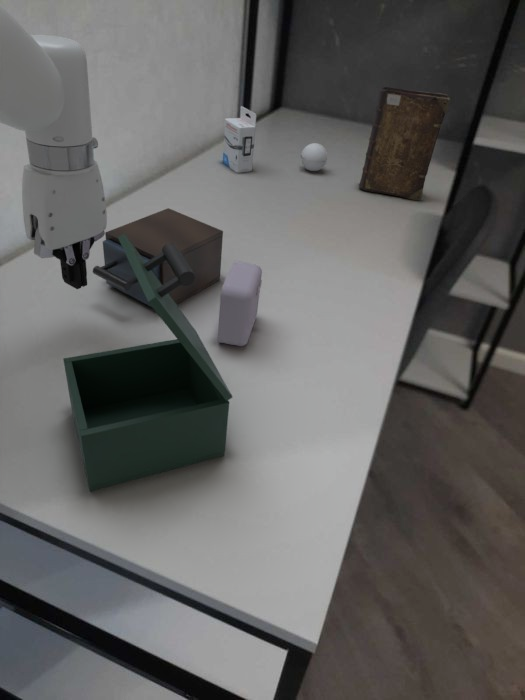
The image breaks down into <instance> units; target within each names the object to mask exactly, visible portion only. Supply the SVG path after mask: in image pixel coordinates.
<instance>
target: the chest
mask: <svg viewBox="0 0 525 700" xmlns="http://www.w3.org/2000/svg"><path fill="white" fill-rule="evenodd" d="M63 366H64V372H65V378H66V383H67V389H68V395H69V401H70V407H71V413H72V417H73V423H74V427H75V431H76V436H77V440H78V446H79V449H80V450H79V451H80V454H81V458H82V464H83V468H84V472H85V477H86V481H87V486H88V490H89V491H88V492H93V491H96V490H101V489H104V488H109V487H111V486H117V485H119V484H123V483H127V482H131V481H134V480H138V479H143V478H146V477H149V476H153V475H157V474H160V473H164V472H168V471H172V470H175V469H180V468H184V467H186V466H189V465H194V464H197V463H201V462H205V461H209V460H212V459H217V458H220V457H223V456H226V455H225V454H226V443H227V432H228V423H229V422H228V421H229V412H230V411H229V410H230V401H229V400H228V401H226V400H225V398H224V397H223V396H222V395H221V393H220V392H219V391H218V390H217V388H216V387H215V386H214V385H213V383H212V382H211V381H210V379H209V378H208V377H207V376H206V374H205V373H204V372H203V371H202V369H201V368H200V367H199V366H198V364H197V363H196V362H195V361H194V359H193V358H192V357H191V355H190V354H189V353H188V352H187V350H186V349H185V348H184V347H183V345H182V344H181V343H180V342H179V340H178V339H177V338H176V339H170V340H164V341H159V342H151V343H145V344H141V345H135V346H129V347H122V348H117V349H111V350H106V351H99V352H93V353H88V354H82V355H76V356H70V357H64V358H63Z"/></svg>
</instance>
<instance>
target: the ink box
mask: <svg viewBox="0 0 525 700" xmlns="http://www.w3.org/2000/svg"><path fill="white" fill-rule="evenodd" d="M247 115H248V116H247ZM249 116H250V117H249ZM256 125H257V113H255V112H253V111H252V110H250V109H248V108H246V107H244V106H243V105H240V112H239V117H232V118H231V117H230V118H229V117H228V118H224V133H223V148H222V149H223V151H222V163H223V164H224V165H225V166H227V167H228V168H230V170H232V171H234V172H235V173H236V174H240V173H249V172H253V163H254V162H253V161H254V151H255V141H256V139H255V138H256V128H257V127H256Z"/></svg>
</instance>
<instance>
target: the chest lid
mask: <svg viewBox="0 0 525 700" xmlns="http://www.w3.org/2000/svg"><path fill="white" fill-rule="evenodd" d="M118 239H119V241H120V243H121V246H122V248H123V250H124V252H125V254H126V256H127V258H128V260H129V262H130V264H131V267H132V269H133V271H134V273H135V275H136V277H137V279H138V281H139V283H140V286H141V288H142V290H143V292H144V294H145V296H146V298H147V300H148V302H149V304H150V305H151V306H152V307H153V308H152V307H151V308H152V309H153V311H154V312H156V314H157V315H158V316H159V317H160V319H161V320H162V321H163V323H164V324H165V325H166V327H167V328H168V329H169V330H170V332H171V333H172V335H174V337H175V338H176V339H178V340H179V342H180V343H181V344H182V345H183V347H184V348H185V349H186V350H187V352H188V353H189V354H190V355H191V357H192V358H193V359H194V361H195V362H196V363H197V364H198V366H199V367H200V368H201V369H202V371H203V372H204V373H205V374H206V376H207V377H208V378H209V379H210V381H211V382H212V383H213V385H214V386H215V387H216V388H217V390H218V391H219V392H220V393H221V395H222V396H223V397H224V398H225V400H226V401H229V400H231V399H233V395H232V393H231V392H230V390H229V388H228V386H227V384H226V383H225V381H224V379H223V377H222V375H221V373H220V371H219V369H218V368H217V366H216V364H215V363H214V361H213V359H212V357H211V356H210V353H209V351H208V350H207V348H206V346H205V344H204V343H203V341H202V339H201V337H200V336H199V333H198V332H197V330H196V329H195V328H194V326H193V325H192V324H191V322H190V321H189V319H188V318H187V317H186V315H185V314H184V313H183V311H182V310H181V308H180V307H179V306H178V304H177V305H176V303H175V302H174V300H173V299H172V298H171V296H170V295H169V294H168V293H169V292H171V291H173V290H174V289H176V288H177V287H179V286H180V285H183V286H189V285H191V284H192V283H193V282H194V280H195V275H194V273H193V271H192V270H191V268H190V267H189V265H188V264H187V262H186V260H185V259H184V257H183V256H182V254H181V253H180V251H179V249H178V248H177V246H176V245H175V244H173V243H167V244H165V245H164V246H163V248H162V252H161V253H160V254H158V255H157V256H155V257H154V258H152V259H150V260H149V261H147V262H145V261H144V260H143V258H142V257H141V256H140V254H139V253H138V251H137V250H136V249H135V247H134V246H133V245H132V243H131V242H130V241H129V239H128V238H127V237H126V235H125V234H122V235H120V236H119V237H118ZM166 260H167V262H168V264H169V265H170V267H171V269H172V271H173V272H174V274H175V276H176V277H175V278H173V279H172V280H170V281H169V282H167V283H165V284H164V285H162V284H161V283H160V281H159V280H158V279H157V277H156V276H155V275H154V273H153V272H152V271H151V270H152V269H153V268H155V267H156V266H158V265H160V264H161V263H163V262H164V261H166Z"/></svg>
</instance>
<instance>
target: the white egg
mask: <svg viewBox="0 0 525 700" xmlns="http://www.w3.org/2000/svg"><path fill="white" fill-rule="evenodd" d="M300 160H301V164H302V165H303V167H304V168H305V169H306V170H308V171H310V172H318V171H320V170H322V169H323V168H324V167H325V165H326V164H327V161H328V153H327V149H326V148H325V146H324V145H322V144H320V143H317V142H313V143H309V144H307V145H306V146H305V147H304V148H303V149H302V151H301V154H300Z"/></svg>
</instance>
